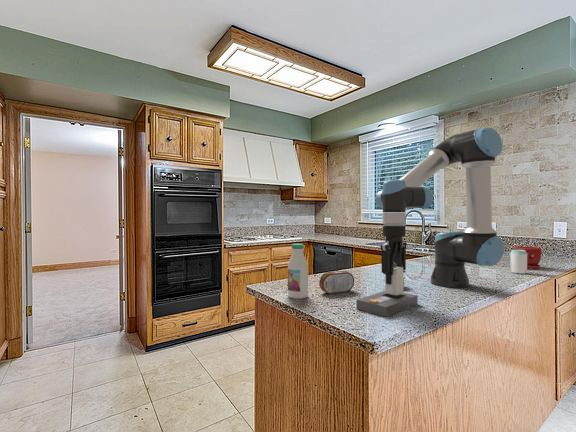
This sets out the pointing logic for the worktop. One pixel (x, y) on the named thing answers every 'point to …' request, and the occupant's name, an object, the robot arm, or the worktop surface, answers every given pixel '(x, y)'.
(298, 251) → the milk bottle
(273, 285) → the worktop surface
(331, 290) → the tin
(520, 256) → the can
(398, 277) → the block
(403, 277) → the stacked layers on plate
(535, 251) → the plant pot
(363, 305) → the power strip
